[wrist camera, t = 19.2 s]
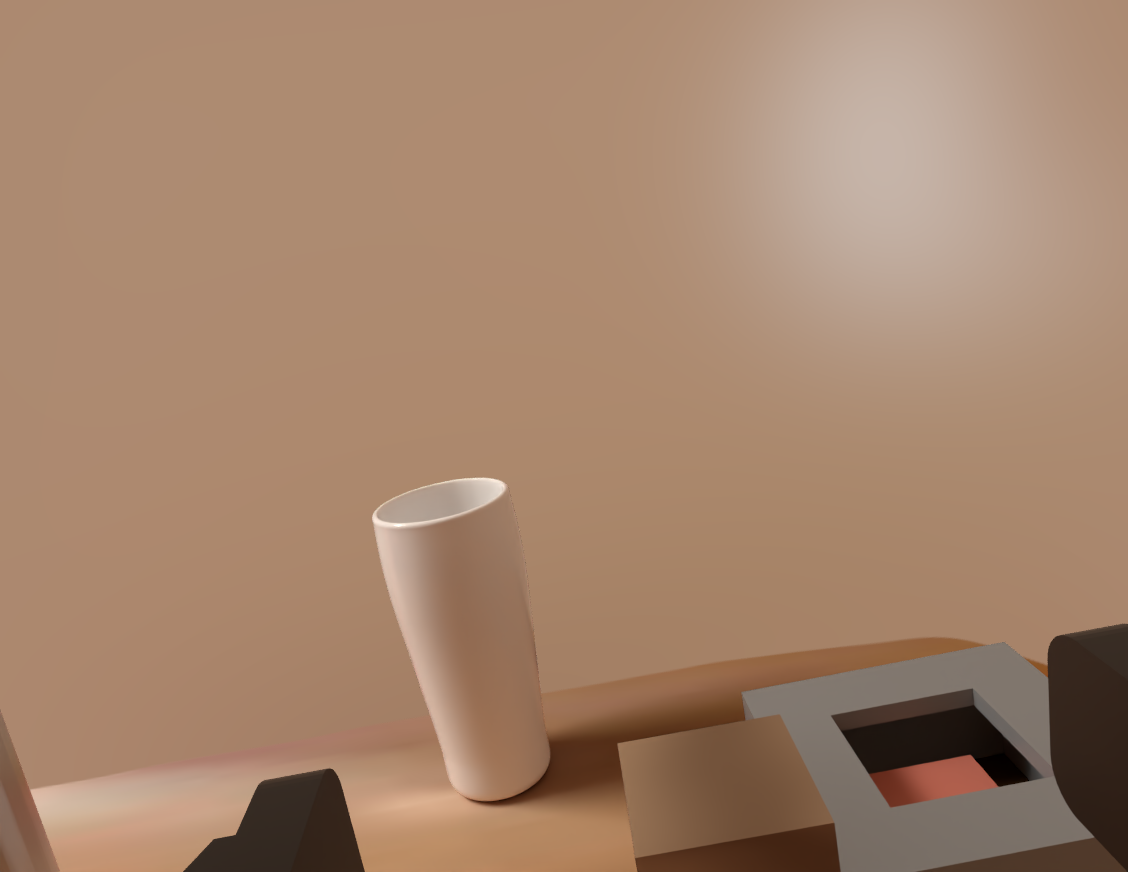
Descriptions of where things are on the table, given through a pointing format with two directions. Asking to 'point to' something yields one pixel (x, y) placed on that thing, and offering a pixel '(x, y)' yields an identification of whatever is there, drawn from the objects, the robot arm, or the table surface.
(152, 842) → the table surface
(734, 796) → the tall brown pillar
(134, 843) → the table surface
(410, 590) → the drinking glass
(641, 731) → the table surface
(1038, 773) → the box
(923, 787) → the button
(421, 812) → the table surface
